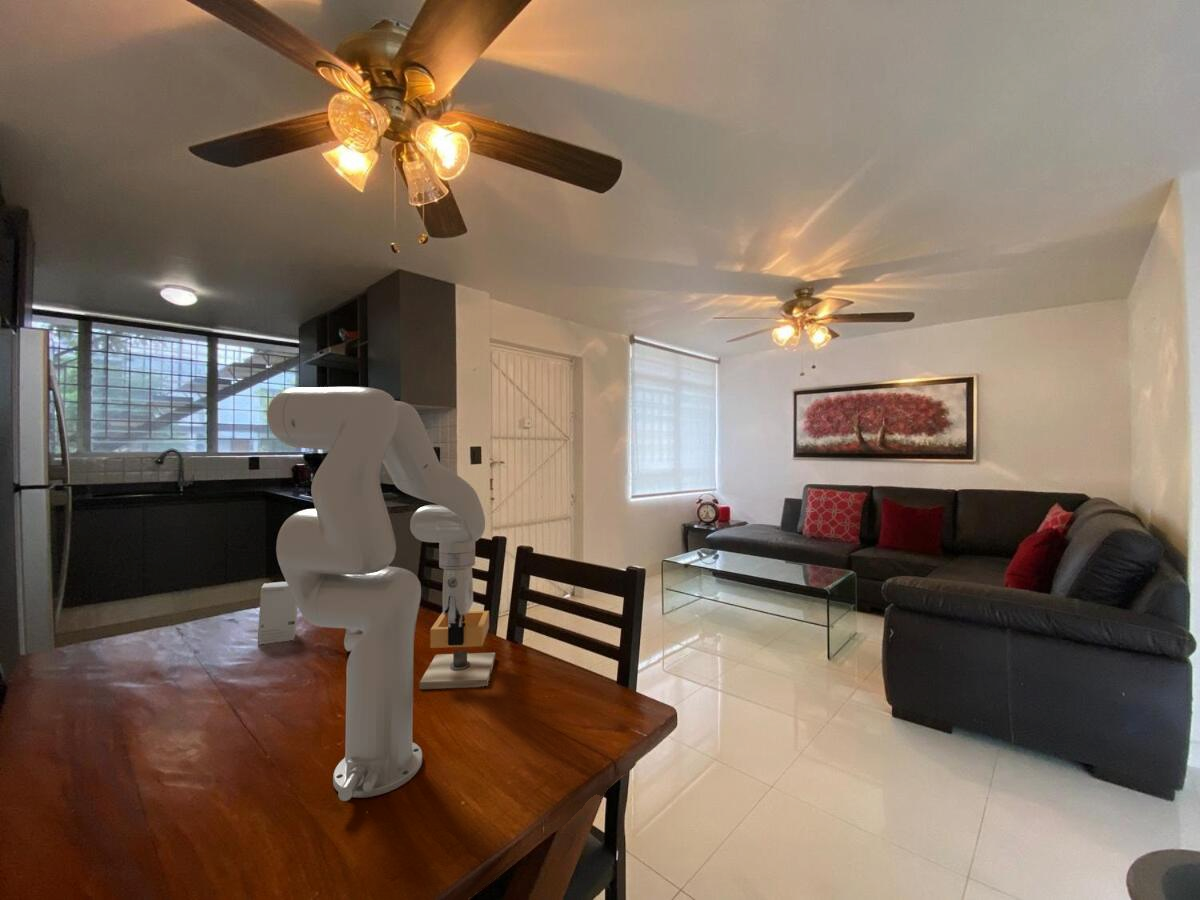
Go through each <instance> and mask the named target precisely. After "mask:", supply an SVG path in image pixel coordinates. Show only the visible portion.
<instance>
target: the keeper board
mask: <svg viewBox="0 0 1200 900" xmlns="http://www.w3.org/2000/svg"><path fill="white" fill-rule="evenodd" d="M495 661H496V652H477V653H476V652H473V653H472V652H471V653H469V652H468V651H467V650H463V649H462V650H457V651H454V652H453V653H440V654H435V655H434V657H433V659H432V661H431V662H430V664H429V666H428V667H427V669H426V670H425V672H424V674H423V675H422V678H421V679H420V681H419V690H433V689H434V690H435V689H438V690H440V689H456V688H457V689H459V688H483V687H484V686H487V687H488V685H489V682H488V681H490V678H491V675H490V674H492V670H493V667H494V663H495ZM481 686H482V687H481Z"/></svg>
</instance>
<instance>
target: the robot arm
mask: <svg viewBox="0 0 1200 900" xmlns="http://www.w3.org/2000/svg"><path fill="white" fill-rule="evenodd" d="M266 418H267V419H266V420H267V424H268V427H269V429H270V431H271V433H272V434H273V435H274V437H275V438H276V439H278V440H279V441H280V442H282V443H283V444H285V445H287V446H289V447H292V448H293V447H294V448H301V449H309V450H310V449H313V450H318V451H319V450H321V451H328V453H326V456H325V458H324V459H323V461H322V462H321V464H320V465H319V467H318V469H317V470H316V472H315V475H314V476H313V479H312V481H311V482H312V483H311V485H310V488H311V489H310V493H311V497H312V501H313V505H314V508H306V509H302V510H299V511H296V512H295V513H293V514H292V515H290V516H289V517H288V518H287V519H286V520H285V521H284V522H283V524H282V526H281V527H280V528H279V531H278V533H277V537H276V538H277V539H276V547H275V552H276V559H277V562H278V563H277V564H278V565H279V567H280V571H281V573H282V575H283V577H284V579H285V582H287V584H288V586H289V589H290V591H291V593H292V595H293V597H294V600H295V602H296V604H297V609H298V610H299V612H300V613H301V615H302V617H303V618H304V619H305V620H306V621H307V622H308V623H310V624H311V625H313V626H317V627H322V628H330V629H346V628H348V629H357V630H362V631H363V635H362V637H361V639H360V640H359V642H358V643H357V644H356V646H355V647H354V648H353V650H352V651H351V652H350V653H349V655H348V659H347V662H346V673H345V674H346V675H345V677H346V685H345V686H346V689H345V690H346V691H345V692H346V695H345V696H346V697H345V698H346V699H345V750H344V752H345V755H344V758H343V759H341V760H340V761H339V763H338V764H337V765H336V767H335V768H334V771H333V776H332V783H333V787H334V789H335V790H336V791H337V792H338V793H337V796H338V799H339V800H340V801H343V802H348V801H349V800H350V799H352V798H360V799H361V798H371V797H376V796H380V795H383V794H386V793H389V792H392V791H393V790H396V789H398V788H399V787H401V786H403V785H405V784H406V783H408V782H409V781H410V780H411V779H412V778H413V777H414V776H416V774H417V773H418V772H419V770H420V769H421V766H422V763H423V751H422V748H421V747H420V746H419V745H418V744H417V743H415V742H413V720H414V718H413V717H414V716H413V715H414V714H413V713H414V709H413V707H414V654H415V653H414V651H415V650H414V649H415V648H414V647H415V646H414V644H415V632H416V625H417V620H418V619H417V618H418V615H419V609H420V604H421V597H422V585H421V582H420V580H419V577H417V575H416V574H415V573H414V572H412V571H411V570H408V569H406V568H402V567H397V566H392V565H391V566H389V565H390V564H391V563H393V561H394V559H395V556H396V552H397V544H396V543H397V542H396V535H395V532H394V530H393V525H392V522H391V519H390V514H389V512H388V511H389V510H388V508H387V505H386V501H385V499H384V495H383V494H384V493H383V490H382V486H381V478H380V475H381V470H382V466H383V465H384V467H385V469H386V471H387V473H388V475H389V477H390V479H391V480H392V482H393V484H394V486H395V487H396V488H397V489H398V490H400V491H401V492H402V493H405V494H406V495H409V496H411V497H414V498H417V499H420V500H421V501H422V500H423V501H426V502H430V503H433V504H428V505H427V504H426V505H424V506H421V507H419V508H418V509H416V510H415V512H414V513H413V514H412V516H411V518H410V521H409V522H410V523H409V529H410V532H411V534H412V535H413V536H414V538H415V539H416V540H419V541H421V542H424V543H425V542H426V543H439V545H438V556H439V557H438V561H439V562H438V567H439V568H440V569H443V575H442V612H443V614H444V615H445V616H447V614H448V645H463V643H464V626H465V623H462V622H465V615H466V614H467V613H468V611H470V610H471V607H472V605H473V602H474V589H473V584H474V583H473V581H474V580H473V567H474V566H475V565H476V542H477V541H479V539H481V538H482V536H483V535H484V533H485V529H486V517H485V514H484V513H485V512H484V510H483V507H482V503H481V501H480V499H479V496H478V494H477V492H476V490H475V489H474V488H473V487H472V486H471V484H470V483H469V482H468V481H467V480H464V479H463V478H462V477H461V476H459V475H458V474H457V473H455V472H454V471H452V470H450V469H449V468H448V467H446V466H444V465H443V464H441V462H440V461H439V459H438V456H437V453H436V451H435V449H434V446H433V445H432V441H431V440H430V437H429V434H428V433H427V430H426V428H425V426H424V423H423V421H422V418H421V416H420V414H419V412H418V411H417V410H416V408H415V407H413V406H412V404H409V403H408V402H404V401H399V400H395V399H394V397H393V396H392V395H390V393H388V392H386V391H384V390H383V389H378V388H374V387H366V386H328V387H327V386H324V387H323V386H322V387H321V386H320V387H318V386H317V387H312V386H311V387H304V386H303V387H293V388H288V389H285V390H282V391H281V392H279V393H277V394H276V395H275V396H274V397H273V398H272V400H271V401H270V403H269V405H268V407H267V413H266Z"/></svg>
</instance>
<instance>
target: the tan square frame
mask: <svg viewBox="0 0 1200 900" xmlns="http://www.w3.org/2000/svg"><path fill="white" fill-rule="evenodd" d="M462 623H465V626H464V643H463V645H448V614H447V616H445V615H444V614H443V611H442V612H441V614H440V615H439V616H438V618H437V619H436V621H435V622H434V624H433V625H432V627H431V628H430V631H429V633H430V634H429V635H430V639H429V640H430V641H429V642H430V643H429V647H430V649H439V648H440V649H441V648H468V647H483V645H484V643H485V639H486V637H487V635H488V632H489V629H490V610H474V611H472V610H471V611H470V610H469V611H468V613H467V614H466V615H465V622H462Z"/></svg>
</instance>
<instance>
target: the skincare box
mask: <svg viewBox="0 0 1200 900" xmlns="http://www.w3.org/2000/svg"><path fill="white" fill-rule="evenodd" d="M259 599H260V600H259V601H260V602H259V614H258V615H259V616H258V630H257V631H258V632H257V643H256V644H257V646H262V645H261V644H264V645H268V644H267V643H271V644H276V643H275V642H278V643H282V642H283V641H284V642H291V641H290V640H292V641H295V637H296V634H297V633H296V632H297V618H298V606H297V604H296V602H295V600H294V597H293V595H292V593H291V591H290V589H289V586H288V584H287V582H286V581H277V582H268V583H267V582H265V583H263V584H262V586H261V587H260V598H259Z"/></svg>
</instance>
